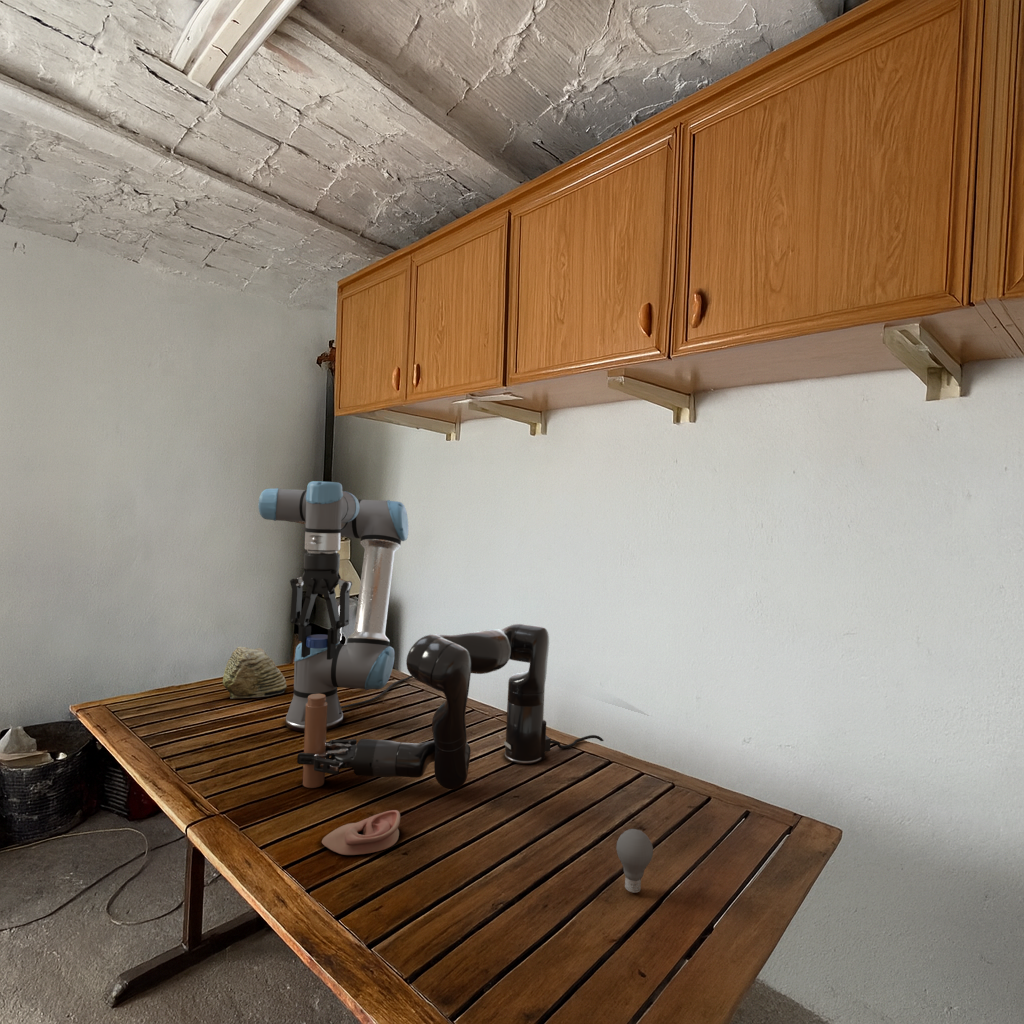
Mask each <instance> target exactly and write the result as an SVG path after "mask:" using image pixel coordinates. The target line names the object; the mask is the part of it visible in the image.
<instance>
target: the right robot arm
mask: <svg viewBox="0 0 1024 1024" xmlns="http://www.w3.org/2000/svg"><path fill="white" fill-rule="evenodd" d="M549 652H550V636H549V631H548V629H547V628H546V627H543V626H540V625H533V624H524V623H513V624H510V625H506V626H505V627H503V628H499V629H498V628H497V629H496V628H492V629H484V630H483V629H482V630H477V631H472V632H465V633H458V634H438V633H437V634H436V633H430V634H427V635H424V636H422V637H420V638H419V639H417V640H416V641H415V642H414V644H412V646H411V647H410V649H409V651H408V653H407V656H406V660H405V661H406V669H407V671H408V673H409V675H410V676H411V675H412V676H413V677H412V678H413V679H415V681H418V682H420V683H422V684H423V685H426V686H428V687H429V688H432V689H434V690H435V691H438V692H442V693H443V694H444V696H445V700H444V702H443V703H441V704H440V705H439V706H438V707H437V708H436V710H435V711H434V713H433V716H432V720H431V731H432V738H433V739H432V740H430V741H425V742H419V743H415V742H414V743H413V742H400V741H395V740H387V739H385V740H384V739H372V738H371V739H370V738H360V739H359V740H357V739H355V738H352V739H350V738H349V739H348V738H347V739H331V740H329V742H326V753H321V754H314V753H304V752H299V753H298V754H297V758H296V763H297V764H298V765H303V764H307V765H314V770H315V771H319V772H324V773H325V774H329V775H335V776H336V775H339V774H340V770H345V769H352V770H353V773H354V774H355V775H356V776H361V777H375V778H394V777H395V778H396V777H397V778H413V779H416V778H419V779H420V778H421V777H423V776H424V774H425V772H426V770H427V768H428V767H429V765H430V764H432V763H433V765H434V766H433V767H434V768H433V773H434V777H435V780H436V782H437V783H438V784H439V785H440V787H442V788H444V789H447V790H457V789H459V788H461V787H463V786H464V784H465V783H466V781H467V779H468V775H469V768H470V760H471V752H472V750H471V746H470V744H469V743H468V733H467V732H468V731H467V724H466V723H467V722H466V712H467V705H468V698H469V691H470V683H471V675H472V674H475V675H482V674H490V673H492V672H493V673H494V672H497V671H498V670H501V669H503V668H504V667H505V666H506V665H507V664H508V662H509V661H515V662H521V663H526V664H527V663H528V664H529V666H528V670H526V671H522V672H518V673H517V672H516V673H514V674H512V675H510V676H509V677H508V681H507V703H506V704H507V705H506V706H507V707H506V725H505V726H506V727H505V740H504V741H503V745H504V746H505V747H504V751H505V752H504V758H505V759H506V760H507V761H508V762H511V763H515V764H520V765H532V764H537V763H539V762H541V761H542V760H546V752H551V747H552V745H551V744H553V745H557V747H558V748H559V749H562V750H564V749H565V750H566V749H569V748H572V747H575V746H576V745H577V744H578V743H580V742H582V741H586V740H589V739H596V740H599V741H600V742H604V738H602V737H601V736H599V735H596V734H590V735H585V736H582V737H579V738H577V739H574V741H573V742H572V743H569V744H565V745H561V743H560V742H559V741H557V740H551V737H549V736H548V735H547V721H546V720H545V719H544V715H545V714H544V713H545V712H544V711H545V691H546V680H547V674H548V673H547V672H548V661H549ZM357 741H358V742H357Z"/></svg>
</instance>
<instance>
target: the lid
mask: <svg viewBox="0 0 1024 1024" xmlns="http://www.w3.org/2000/svg"><path fill="white" fill-rule="evenodd" d="M327 641H328V634H321V633H319V634H311V635H310V636H307V639H306V646H307V647H309V648H316V649H319V648H327Z"/></svg>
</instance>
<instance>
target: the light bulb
mask: <svg viewBox="0 0 1024 1024" xmlns="http://www.w3.org/2000/svg"><path fill="white" fill-rule="evenodd" d="M615 849H616V854H617V857H618V859H619V861H620V863H621V865H622V867H623V873H624V874H623V875H624V876H625V878H624V888H625V890H627V891H628V892H630V893H634V894H635V893H639V892H640V891H641V889H642V887H641V886H642V879H643V877H644V875H645V871H646V868H647V867H648V866H649V864H650V863H651V861H652V859H653V855H654V847H653V843H652V841H651V838H649V836H648V835H647V834H646V833H645V832H643V831H642V830H641V829H636V828H629V829H627V830H625V831H623V832H622V833H621V834H620V835H619V837H618V839H617V841H616V847H615Z"/></svg>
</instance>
